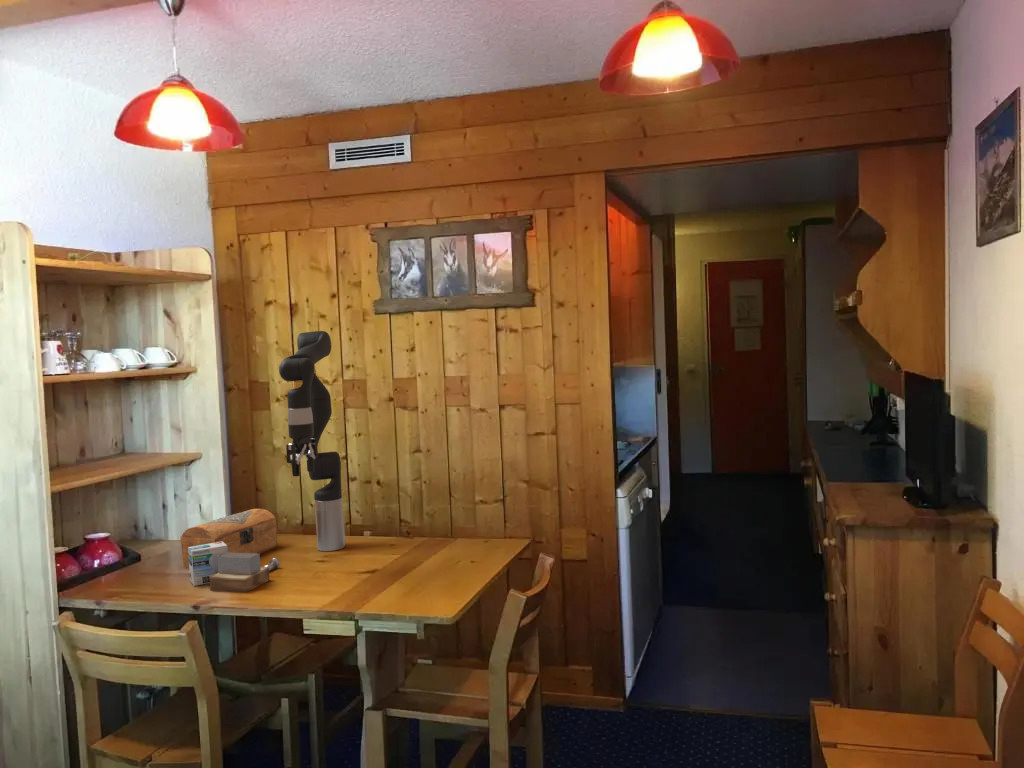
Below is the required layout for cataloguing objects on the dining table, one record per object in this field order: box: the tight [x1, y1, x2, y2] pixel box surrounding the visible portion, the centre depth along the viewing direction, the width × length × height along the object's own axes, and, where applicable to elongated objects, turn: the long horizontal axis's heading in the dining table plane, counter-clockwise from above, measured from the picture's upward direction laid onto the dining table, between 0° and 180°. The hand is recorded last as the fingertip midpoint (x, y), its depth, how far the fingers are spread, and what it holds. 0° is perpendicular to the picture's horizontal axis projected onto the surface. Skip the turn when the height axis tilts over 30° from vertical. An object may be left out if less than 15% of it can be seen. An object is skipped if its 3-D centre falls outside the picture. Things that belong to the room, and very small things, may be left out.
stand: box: [209, 566, 271, 593], centre depth 242 cm, size 12×12×4 cm
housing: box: [217, 552, 261, 575], centre depth 241 cm, size 11×5×5 cm, turn 73°
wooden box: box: [179, 508, 278, 569], centre depth 276 cm, size 30×16×14 cm, turn 156°
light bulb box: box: [188, 541, 228, 587], centre depth 248 cm, size 11×7×11 cm, turn 122°
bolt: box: [263, 557, 281, 572], centre depth 256 cm, size 6×3×3 cm, turn 163°
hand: (303, 473), depth 255 cm, fingers open, 8 cm apart
